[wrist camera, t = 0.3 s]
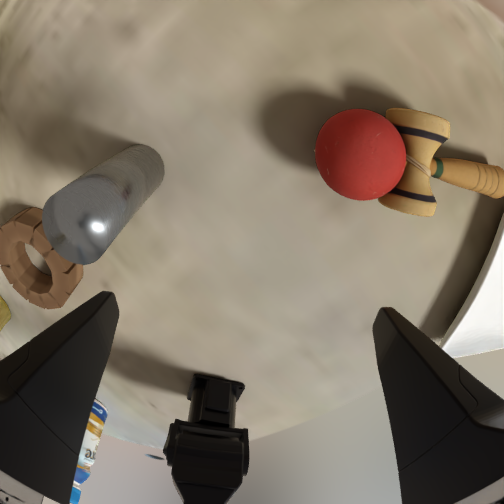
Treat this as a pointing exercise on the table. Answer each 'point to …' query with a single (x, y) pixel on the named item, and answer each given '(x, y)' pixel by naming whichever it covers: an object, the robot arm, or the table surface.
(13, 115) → the table surface
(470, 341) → the salad plate
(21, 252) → the bead ring
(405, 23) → the table surface
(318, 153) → the kendama
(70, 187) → the grey metal cylinder
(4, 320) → the vase
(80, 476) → the beverage bottle
